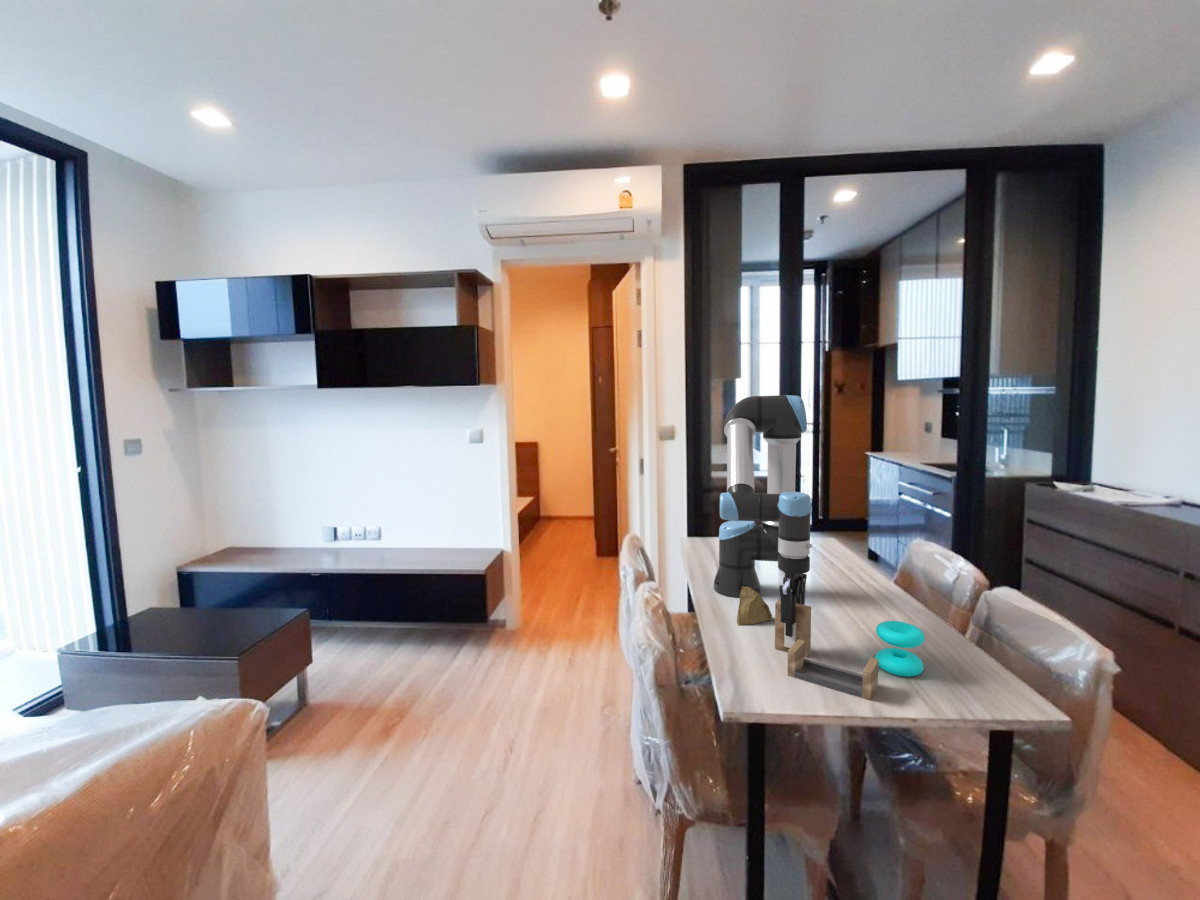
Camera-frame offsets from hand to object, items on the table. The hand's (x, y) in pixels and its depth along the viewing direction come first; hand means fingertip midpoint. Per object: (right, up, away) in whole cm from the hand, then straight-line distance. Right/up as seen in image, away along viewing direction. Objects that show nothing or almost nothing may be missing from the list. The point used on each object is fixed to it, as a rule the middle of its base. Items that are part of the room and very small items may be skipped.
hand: (792, 644), depth 138 cm
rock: (-4, 0, +19) cm, 19 cm away
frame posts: (+4, -3, -14) cm, 15 cm away
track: (+4, -3, -14) cm, 15 cm away
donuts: (+22, -2, -10) cm, 24 cm away
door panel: (0, -2, 0) cm, 2 cm away
